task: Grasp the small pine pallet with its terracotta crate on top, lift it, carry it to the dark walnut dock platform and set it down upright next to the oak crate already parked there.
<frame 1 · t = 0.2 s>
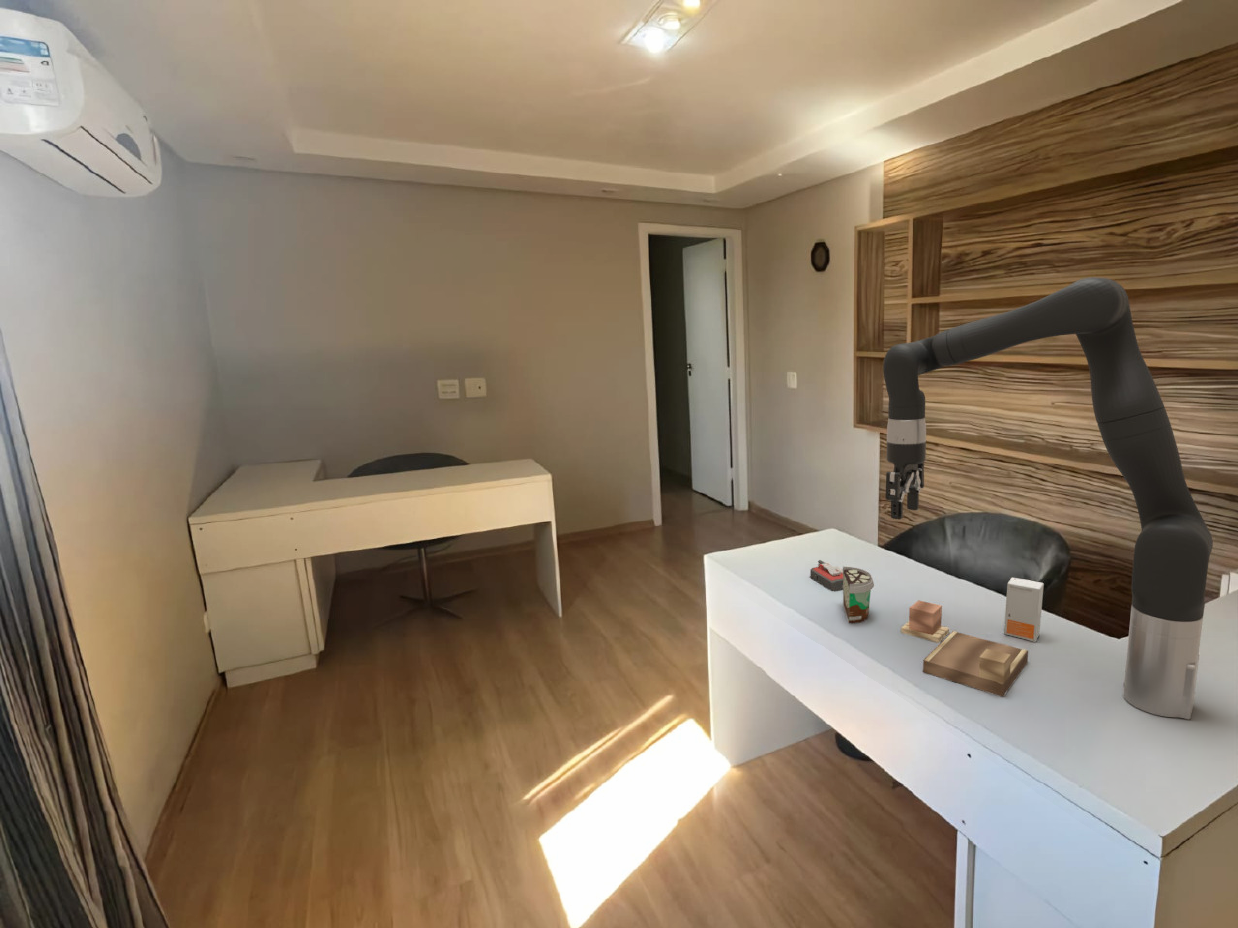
hand: (904, 514, 138), 27 cm above the table, fingers open, 8 cm apart
dock: (975, 667, 127), on the table
loaded pallet: (924, 632, 142), on the table
skincare box: (1021, 635, 138), on the table
oak crate: (994, 675, 119), point 3 cm above the table, touching dock
food container: (859, 615, 153), on the table
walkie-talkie: (828, 579, 176), on the table
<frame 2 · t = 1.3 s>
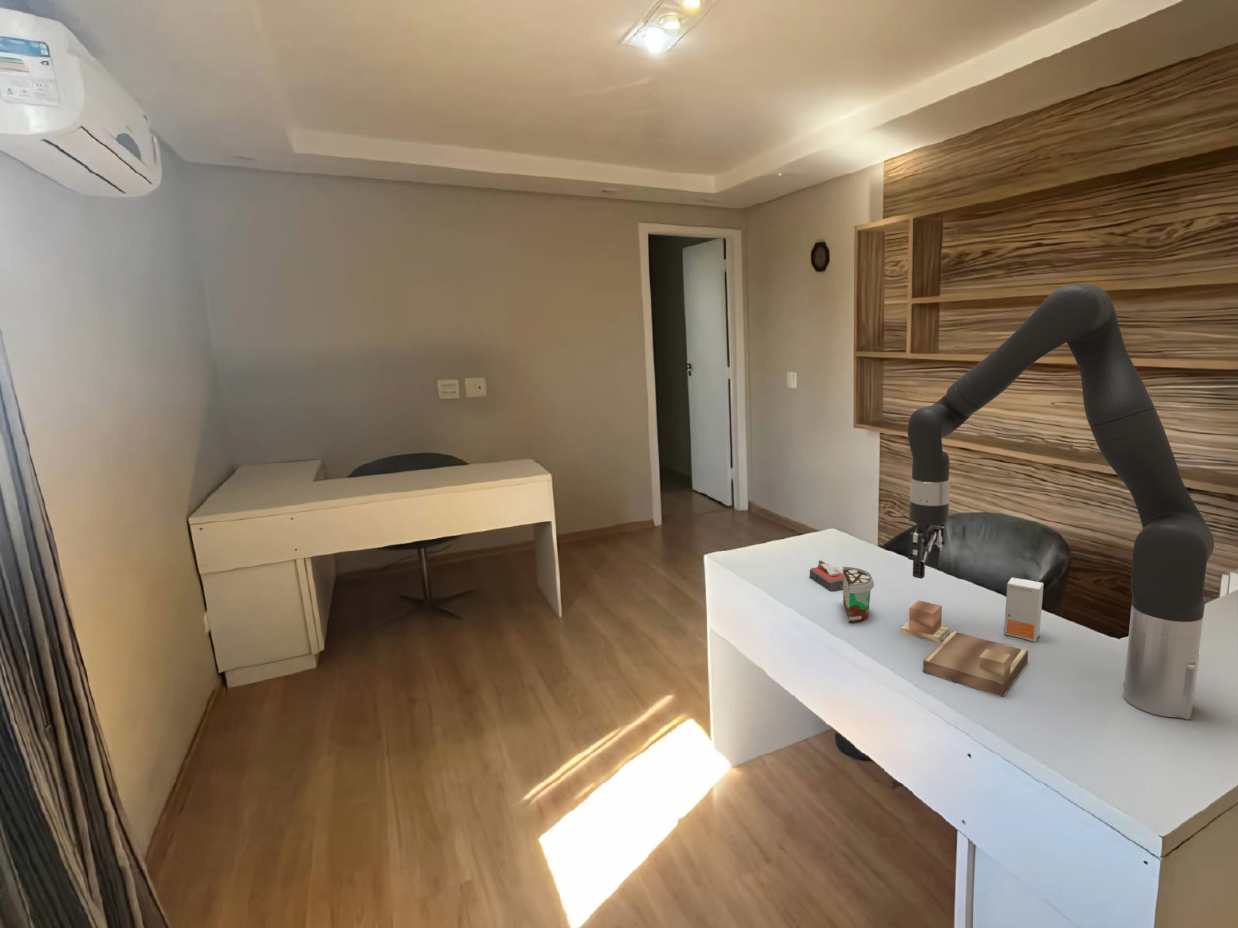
hand: (926, 571, 139), 14 cm above the table, fingers open, 8 cm apart
nothing on the table moved.
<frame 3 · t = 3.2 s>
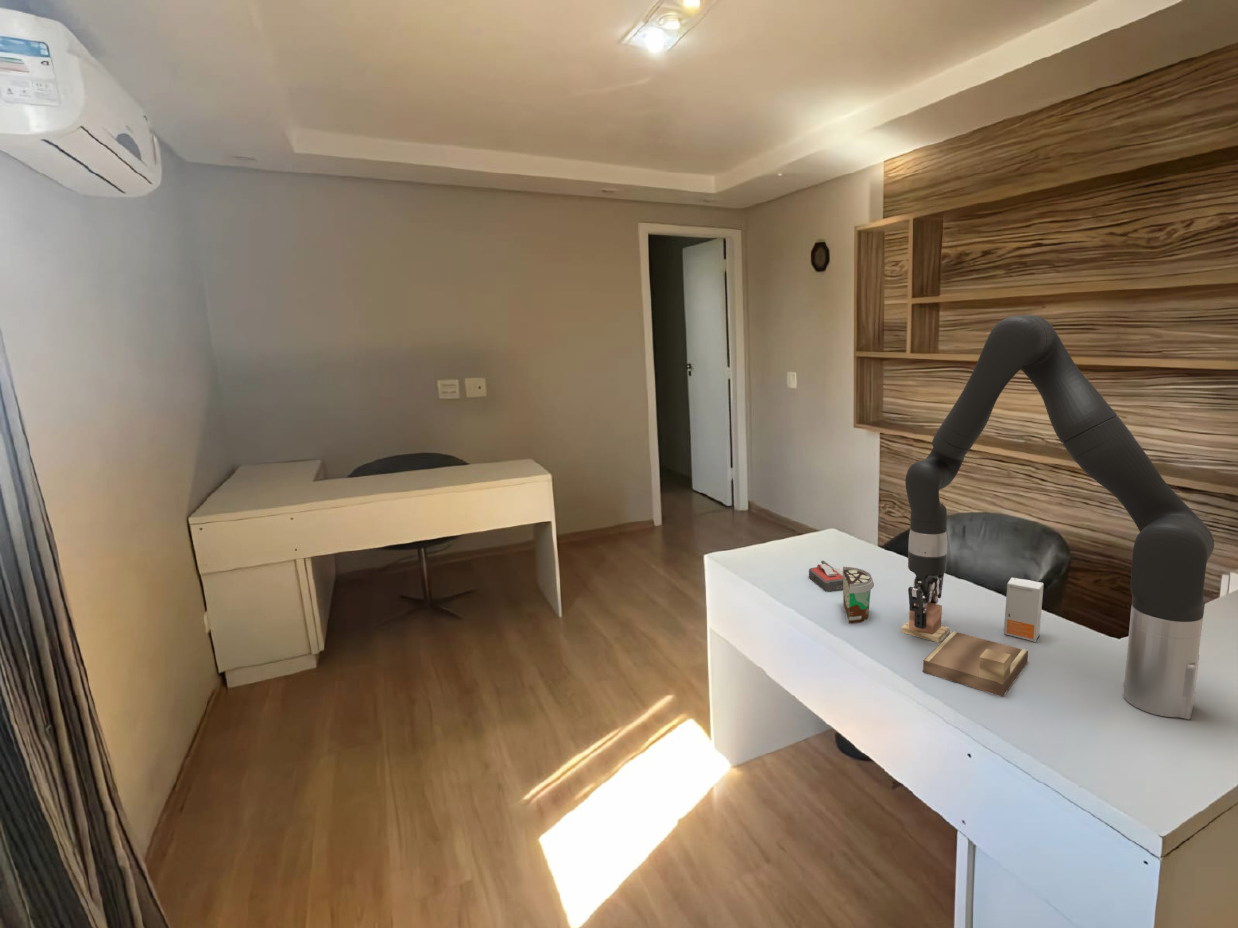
hand: (925, 622, 142), 2 cm above the table, fingers closed on loaded pallet, 5 cm apart
loaded pallet: (924, 632, 142), on the table, touching gripper
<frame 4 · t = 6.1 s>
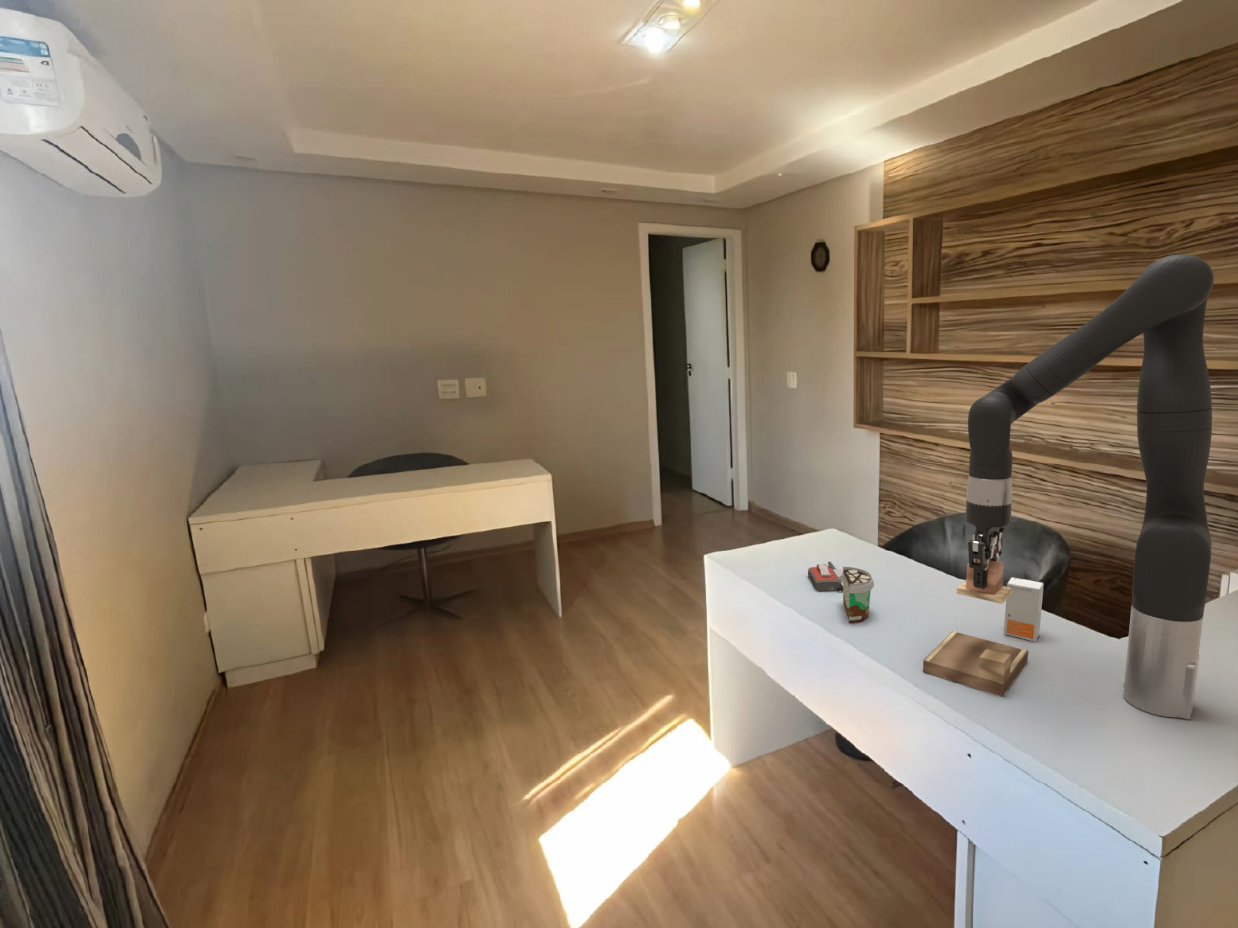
hand: (984, 582, 126), 17 cm above the table, fingers closed on loaded pallet, 5 cm apart
loaded pallet: (983, 593, 126), point 14 cm above the table, touching gripper
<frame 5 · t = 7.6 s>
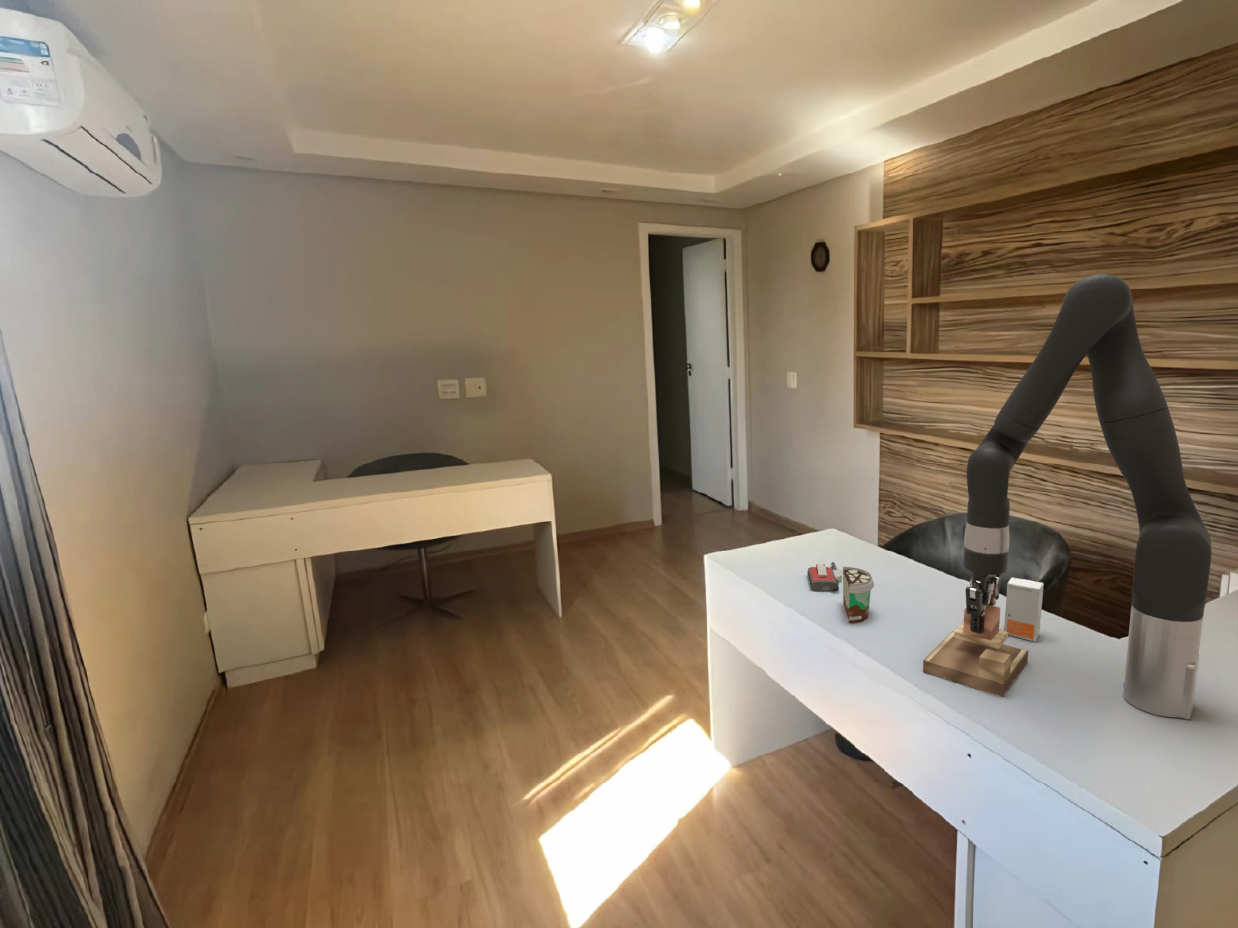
hand: (981, 626, 128), 7 cm above the table, fingers closed on loaded pallet, 5 cm apart
loaded pallet: (980, 637, 128), point 5 cm above the table, touching gripper
when the fingers open (6 cm above the table, at t = 8.8 s): loaded pallet drops 1 cm, resting on dock.
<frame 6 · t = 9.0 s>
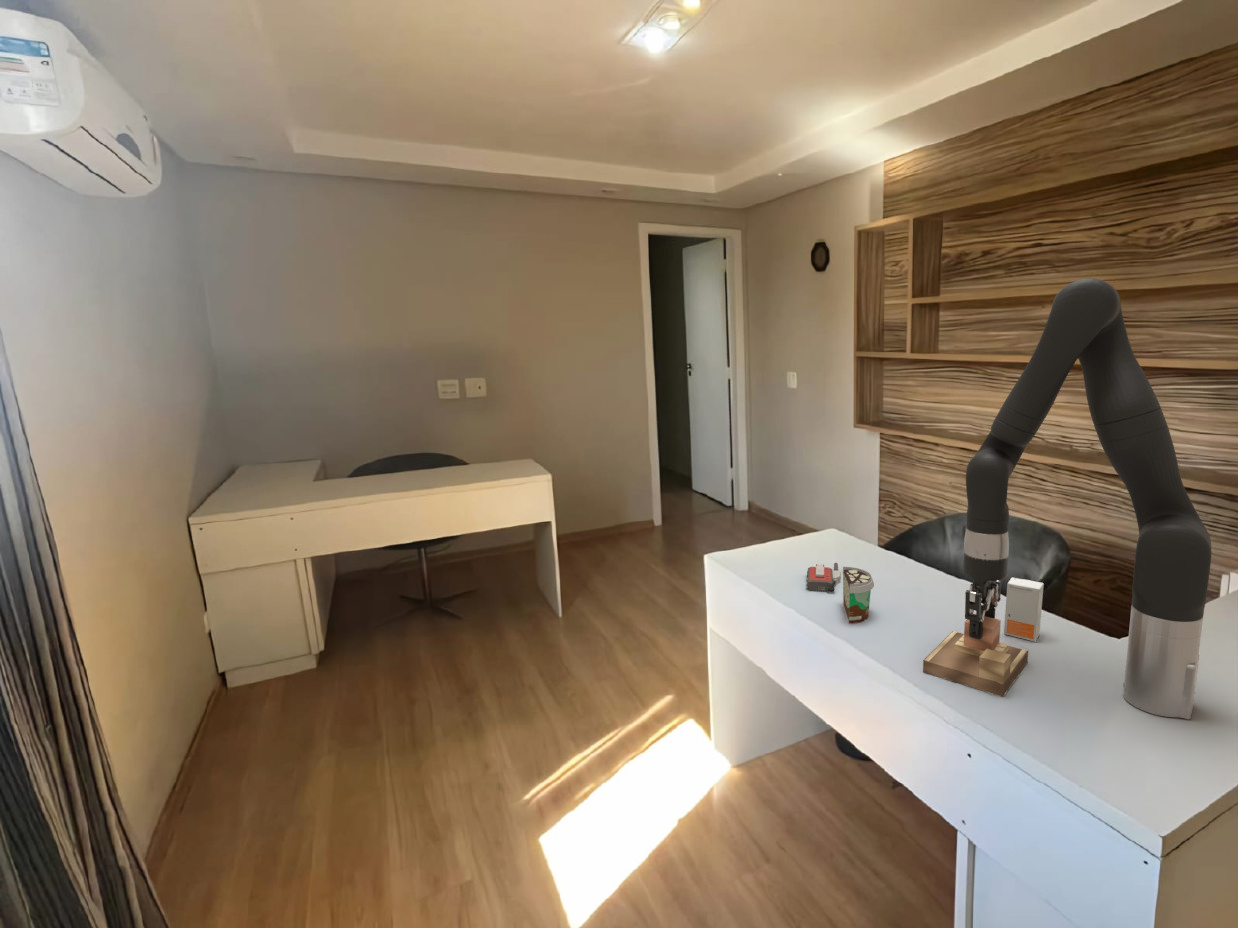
hand: (982, 630, 128), 7 cm above the table, fingers open, 7 cm apart
loaded pallet: (981, 649, 128), point 2 cm above the table, touching dock
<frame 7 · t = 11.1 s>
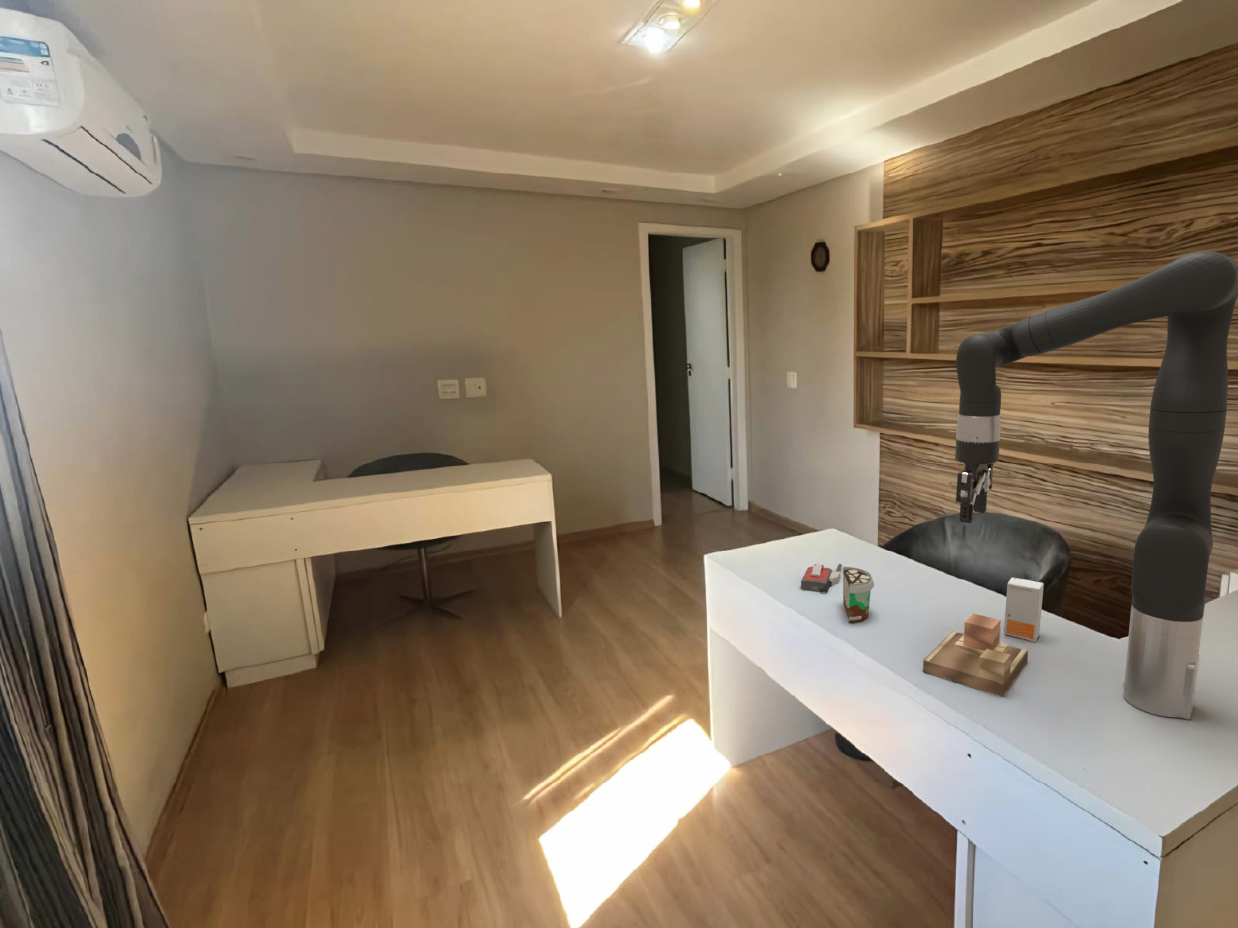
hand: (973, 517, 129), 28 cm above the table, fingers open, 8 cm apart
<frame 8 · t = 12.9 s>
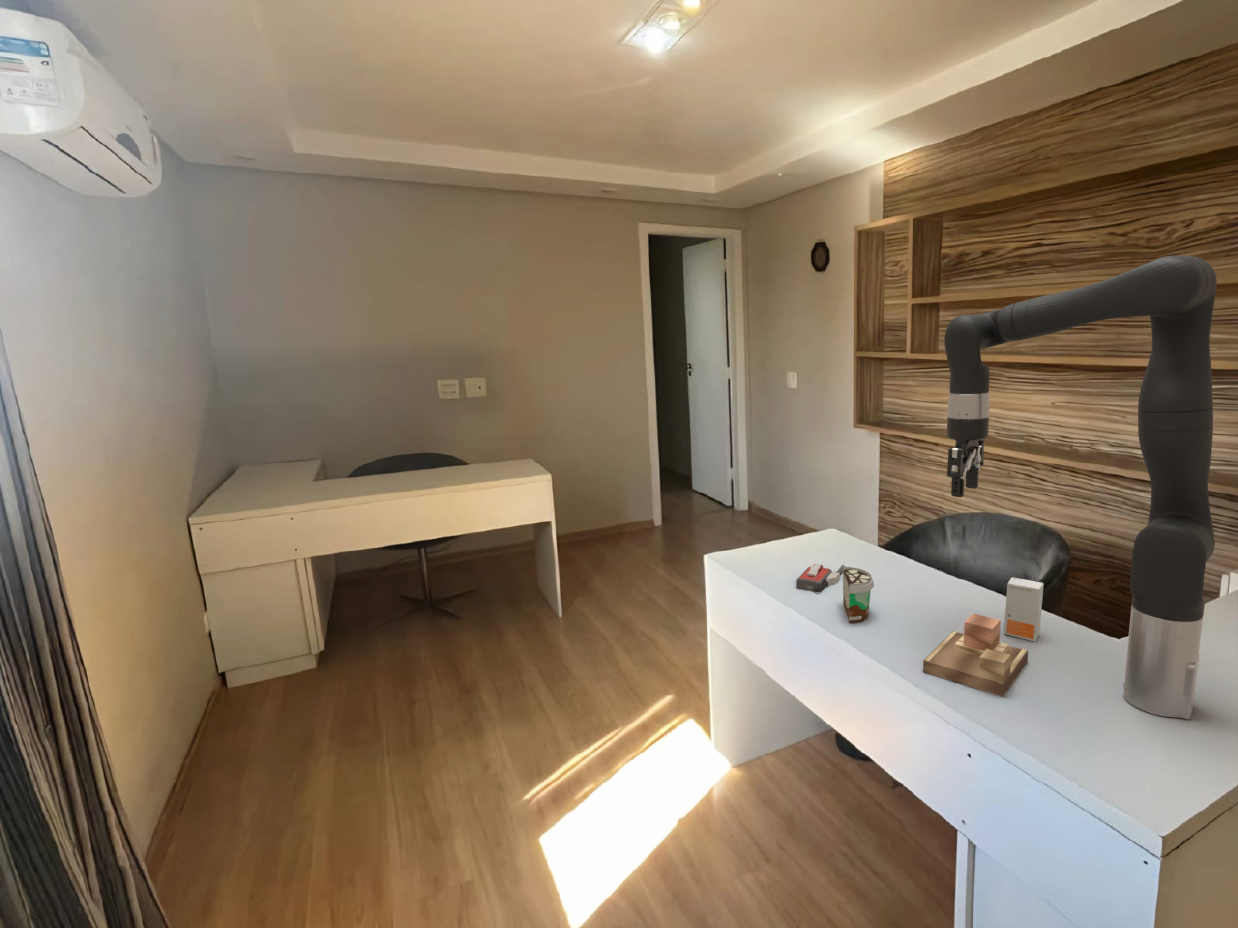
hand: (964, 492, 134), 32 cm above the table, fingers open, 8 cm apart
at the end: loaded pallet inside the target area on the dock (3.0 cm from its centre), point 2.5 cm above the dock's base; loaded pallet tilted 0°; the gripper is holding nothing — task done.
